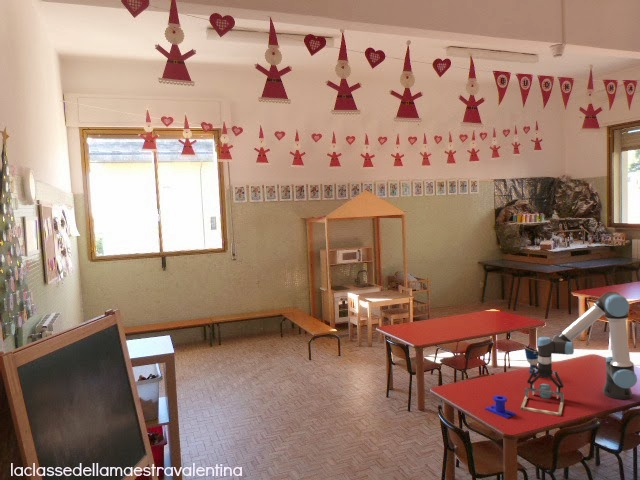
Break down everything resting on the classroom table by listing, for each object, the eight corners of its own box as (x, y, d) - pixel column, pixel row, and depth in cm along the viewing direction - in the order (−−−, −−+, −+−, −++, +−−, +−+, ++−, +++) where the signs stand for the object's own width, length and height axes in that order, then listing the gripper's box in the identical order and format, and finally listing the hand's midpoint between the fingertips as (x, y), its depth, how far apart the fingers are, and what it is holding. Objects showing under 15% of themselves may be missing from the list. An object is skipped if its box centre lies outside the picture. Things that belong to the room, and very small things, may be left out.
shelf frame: (563, 403, 282) (563, 401, 282) (560, 416, 265) (560, 414, 265) (525, 397, 293) (525, 395, 293) (520, 409, 276) (520, 407, 276)
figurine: (541, 378, 322) (541, 350, 321) (527, 378, 324) (526, 349, 323) (537, 372, 335) (536, 344, 334) (523, 372, 337) (522, 344, 336)
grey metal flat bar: (563, 403, 282) (563, 392, 282) (563, 404, 281) (563, 393, 280) (525, 397, 293) (525, 387, 293) (525, 398, 292) (524, 388, 291)
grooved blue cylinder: (551, 395, 294) (551, 384, 293) (550, 399, 288) (550, 388, 288) (540, 394, 297) (540, 383, 297) (539, 397, 292) (538, 386, 291)
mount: (485, 410, 278) (485, 395, 277) (493, 406, 282) (493, 392, 281) (507, 419, 265) (506, 403, 264) (515, 415, 269) (515, 400, 268)
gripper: (568, 363, 288) (568, 397, 289) (523, 358, 301) (524, 390, 302) (567, 366, 282) (567, 401, 283) (522, 361, 295) (522, 395, 296)
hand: (545, 396), depth 293 cm, fingers open, 13 cm apart
